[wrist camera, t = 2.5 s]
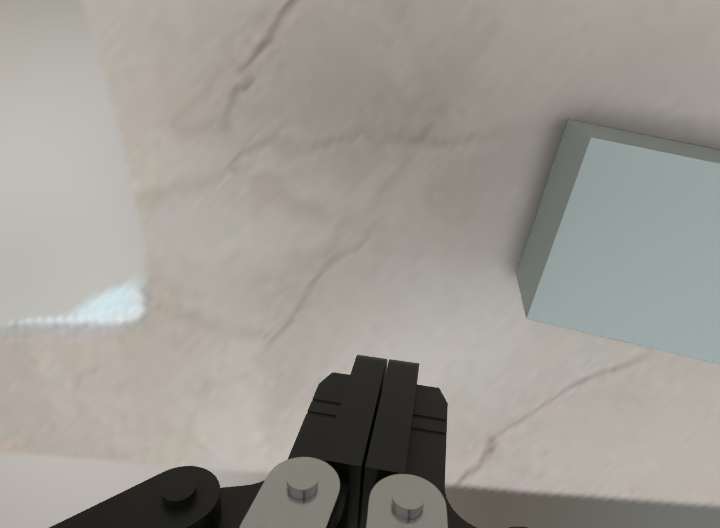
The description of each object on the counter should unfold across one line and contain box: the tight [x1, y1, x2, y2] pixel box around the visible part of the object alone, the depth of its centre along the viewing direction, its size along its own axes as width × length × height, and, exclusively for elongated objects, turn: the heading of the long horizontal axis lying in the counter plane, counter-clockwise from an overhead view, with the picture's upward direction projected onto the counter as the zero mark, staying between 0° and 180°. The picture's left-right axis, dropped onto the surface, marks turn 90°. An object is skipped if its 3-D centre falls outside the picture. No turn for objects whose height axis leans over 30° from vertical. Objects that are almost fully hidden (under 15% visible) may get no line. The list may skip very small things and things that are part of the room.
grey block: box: [516, 119, 720, 364], centre depth 23 cm, size 8×10×5 cm
